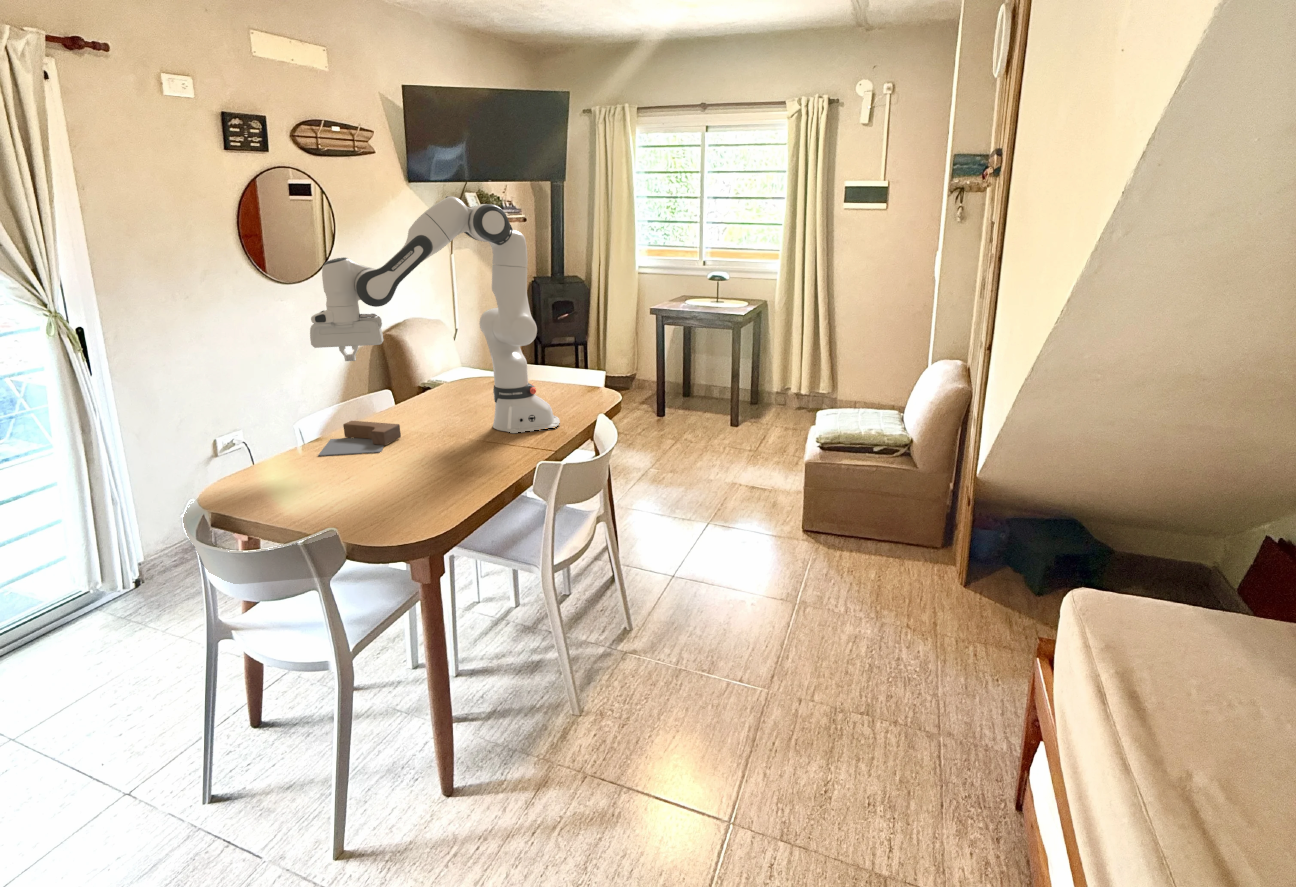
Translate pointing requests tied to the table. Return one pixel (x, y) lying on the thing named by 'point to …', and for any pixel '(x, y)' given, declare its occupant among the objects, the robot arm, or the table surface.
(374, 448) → the mat
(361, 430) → the wooden block
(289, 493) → the table surface
